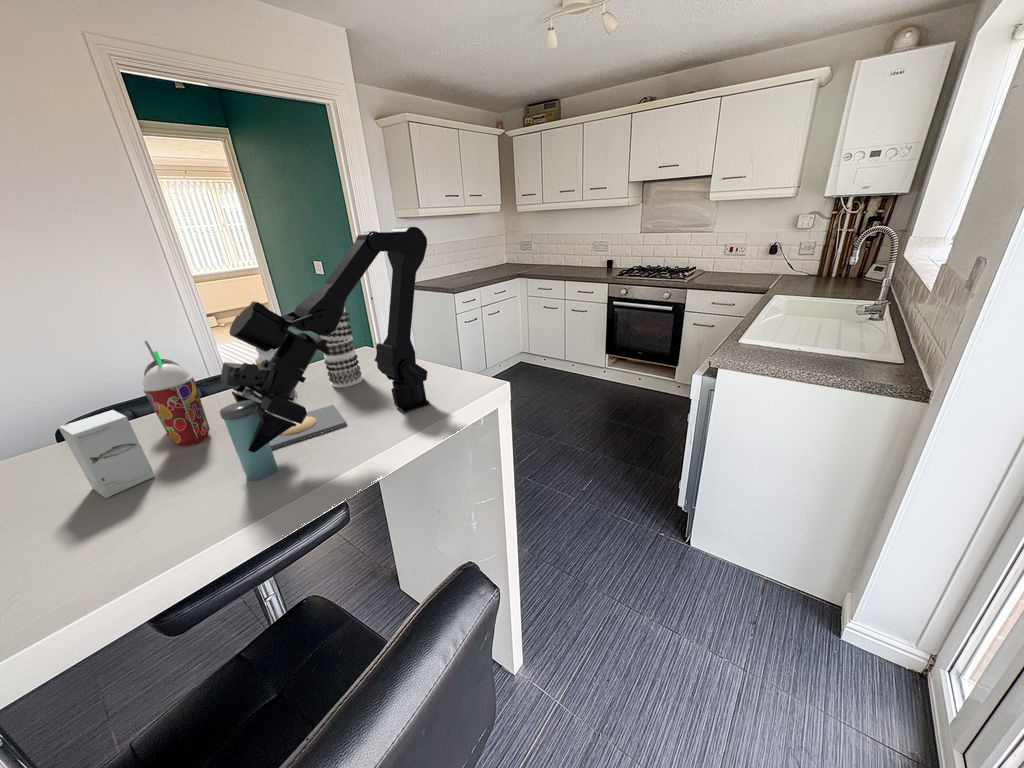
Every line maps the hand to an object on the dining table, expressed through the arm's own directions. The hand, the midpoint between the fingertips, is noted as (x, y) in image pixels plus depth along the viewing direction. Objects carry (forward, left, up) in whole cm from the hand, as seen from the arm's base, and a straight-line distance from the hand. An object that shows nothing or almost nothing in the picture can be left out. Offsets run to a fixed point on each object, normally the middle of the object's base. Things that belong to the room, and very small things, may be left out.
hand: (241, 443), depth 71 cm
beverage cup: (+12, -38, -7) cm, 41 cm away
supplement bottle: (-9, -44, -7) cm, 46 cm away
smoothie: (+10, -25, -7) cm, 28 cm away
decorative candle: (-25, -36, -7) cm, 45 cm away
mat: (-9, -14, -7) cm, 18 cm away
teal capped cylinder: (-1, 0, -7) cm, 7 cm away
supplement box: (+20, -14, -7) cm, 25 cm away
